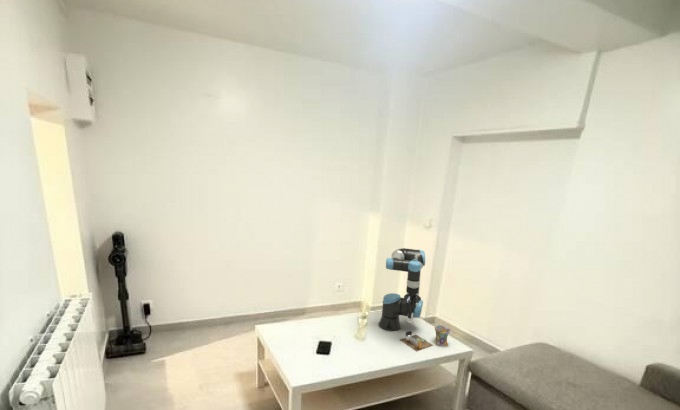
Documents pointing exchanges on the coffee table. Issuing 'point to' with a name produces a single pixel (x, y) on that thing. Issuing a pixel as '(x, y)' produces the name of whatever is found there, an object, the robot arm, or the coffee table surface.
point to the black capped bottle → (412, 340)
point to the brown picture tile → (424, 342)
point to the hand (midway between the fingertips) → (409, 322)
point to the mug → (441, 336)
